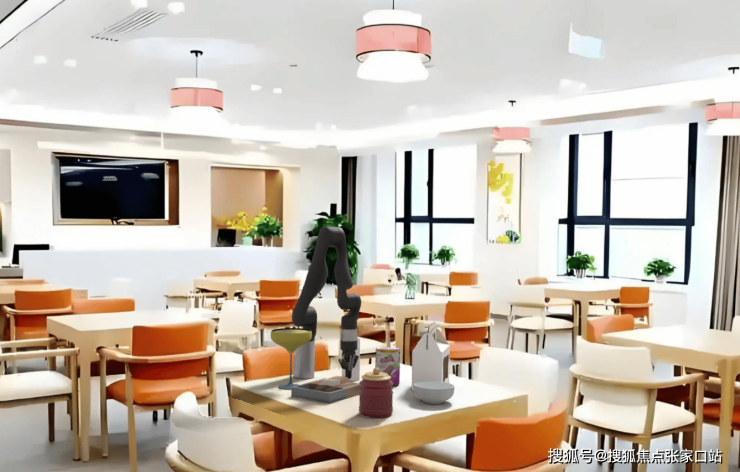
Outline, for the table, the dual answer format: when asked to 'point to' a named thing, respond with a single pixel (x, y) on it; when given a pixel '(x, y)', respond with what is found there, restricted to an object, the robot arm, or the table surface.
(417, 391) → the cereal bowl
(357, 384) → the brown wooden board
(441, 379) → the gable box
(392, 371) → the candy bar box
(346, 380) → the terracotta tile
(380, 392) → the canister
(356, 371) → the milk
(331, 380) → the cream tile
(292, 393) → the box
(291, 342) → the cocktail glass
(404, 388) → the table surface
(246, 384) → the table surface
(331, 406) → the table surface
